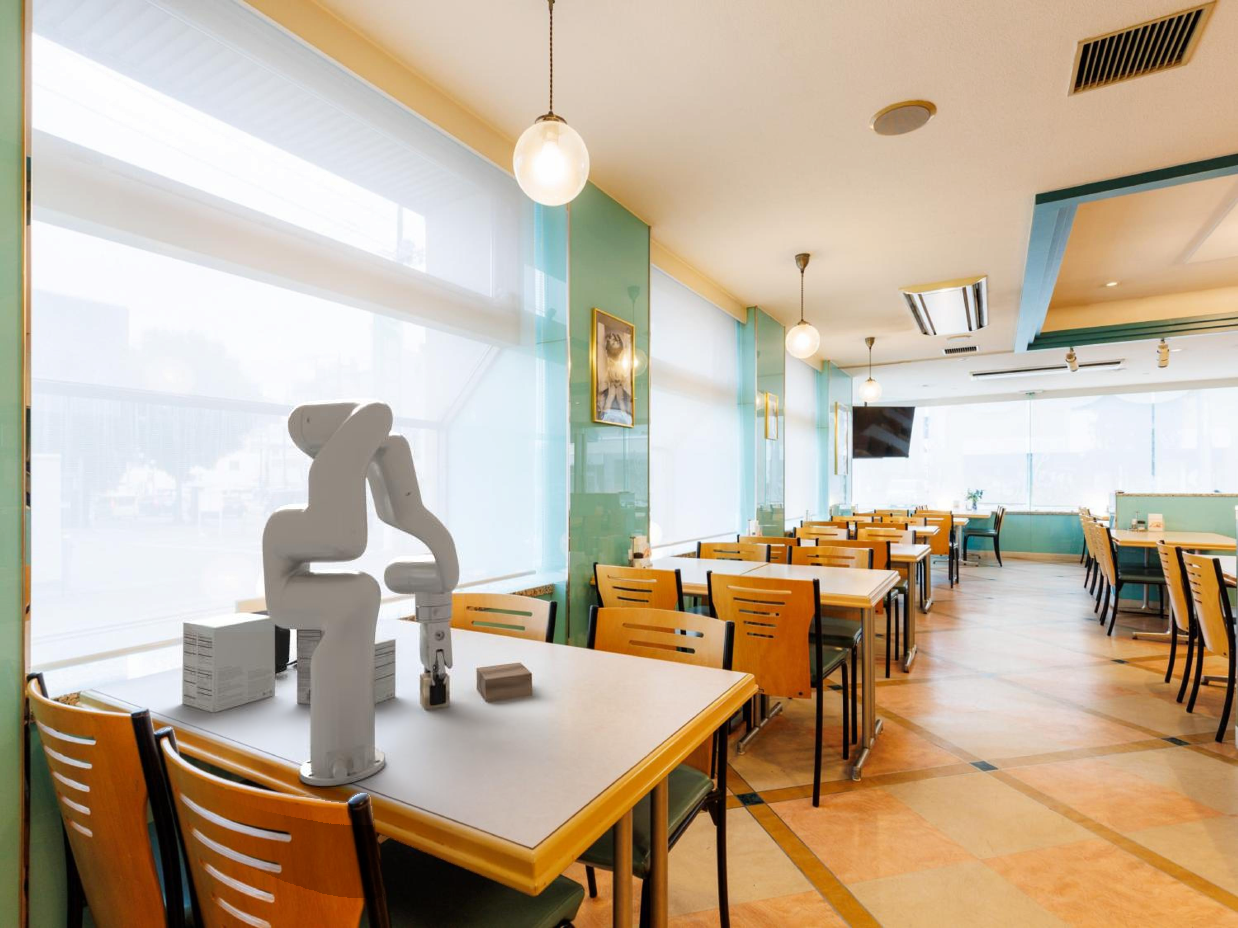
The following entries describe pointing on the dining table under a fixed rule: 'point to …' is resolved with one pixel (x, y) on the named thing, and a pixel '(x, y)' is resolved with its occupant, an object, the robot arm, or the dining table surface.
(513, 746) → the dining table surface
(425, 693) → the maple block
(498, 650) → the dining table surface
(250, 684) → the supplement box
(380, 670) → the supplement box
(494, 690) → the walnut block
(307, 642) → the coffee box
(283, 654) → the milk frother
